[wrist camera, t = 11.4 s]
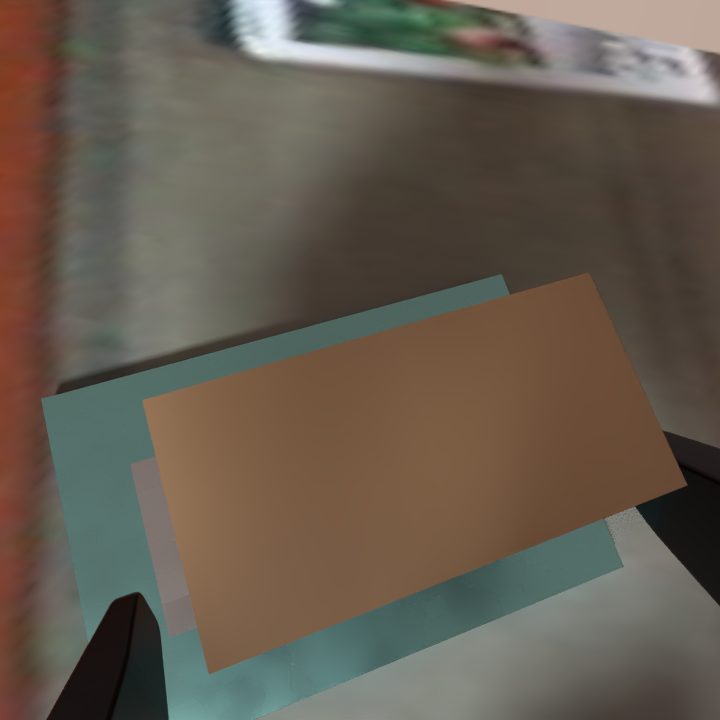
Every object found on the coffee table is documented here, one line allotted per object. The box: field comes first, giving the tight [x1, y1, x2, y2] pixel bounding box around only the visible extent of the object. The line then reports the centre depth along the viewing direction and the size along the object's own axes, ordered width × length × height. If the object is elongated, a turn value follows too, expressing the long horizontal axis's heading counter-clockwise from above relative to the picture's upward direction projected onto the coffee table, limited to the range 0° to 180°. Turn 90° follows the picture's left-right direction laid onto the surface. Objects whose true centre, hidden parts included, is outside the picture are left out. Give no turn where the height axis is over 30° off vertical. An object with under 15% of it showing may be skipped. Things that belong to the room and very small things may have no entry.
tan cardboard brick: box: [142, 272, 687, 674], centre depth 13 cm, size 6×3×13 cm, turn 109°
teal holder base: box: [41, 274, 623, 720], centre depth 18 cm, size 18×12×3 cm, turn 108°
